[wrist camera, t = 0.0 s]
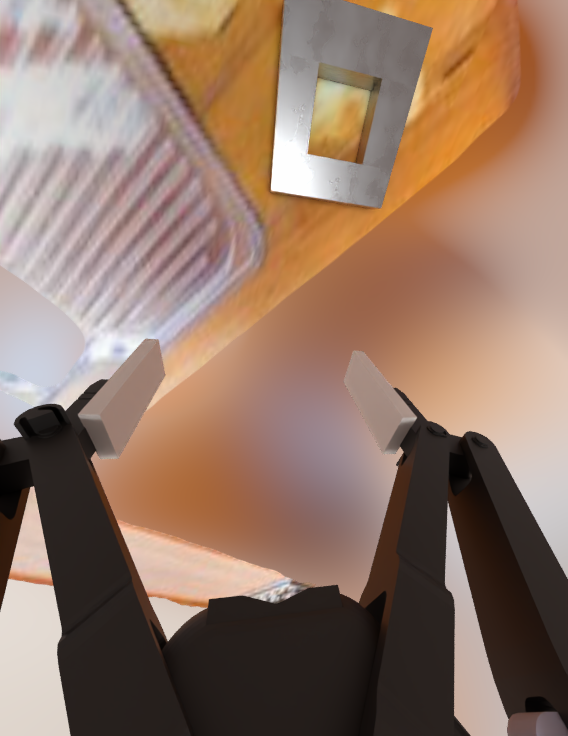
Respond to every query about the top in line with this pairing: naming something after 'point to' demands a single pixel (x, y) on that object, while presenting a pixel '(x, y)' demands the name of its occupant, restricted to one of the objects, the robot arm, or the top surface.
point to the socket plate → (352, 67)
